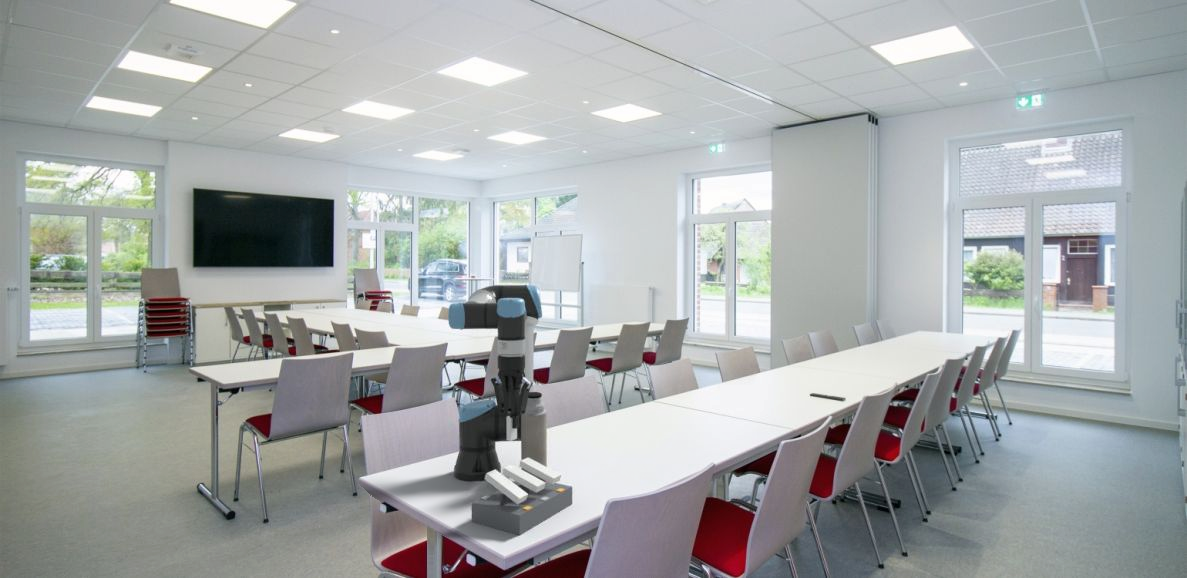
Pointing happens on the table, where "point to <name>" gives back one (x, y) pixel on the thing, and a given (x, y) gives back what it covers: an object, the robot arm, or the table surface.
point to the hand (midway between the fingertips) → (511, 439)
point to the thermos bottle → (534, 431)
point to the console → (521, 508)
